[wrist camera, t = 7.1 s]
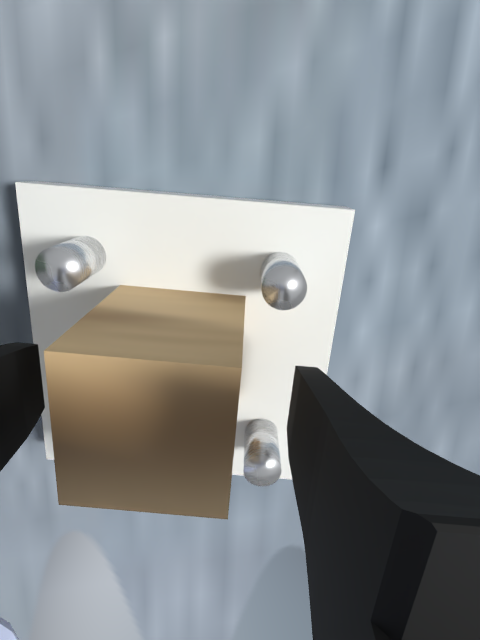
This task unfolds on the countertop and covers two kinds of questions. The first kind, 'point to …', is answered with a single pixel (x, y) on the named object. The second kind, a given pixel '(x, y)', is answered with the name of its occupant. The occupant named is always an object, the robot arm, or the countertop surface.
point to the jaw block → (148, 402)
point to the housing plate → (195, 283)
